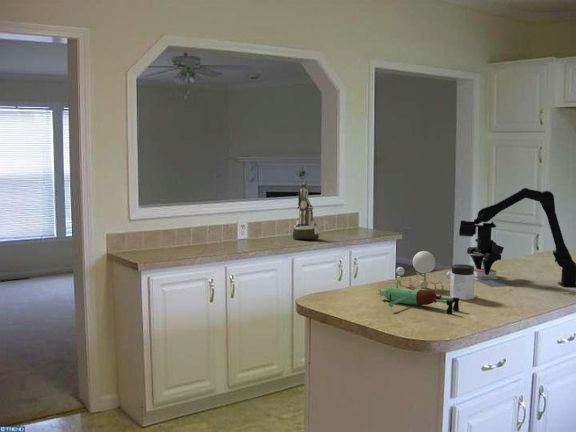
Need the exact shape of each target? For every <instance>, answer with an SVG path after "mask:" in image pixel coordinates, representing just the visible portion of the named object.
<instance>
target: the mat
mask: <svg viewBox="0 0 576 432" xmlns="http://www.w3.org/2000/svg"><path fill="white" fill-rule="evenodd" d="M474 281H476V282H478V283H481V284H483V285H486V286H488V287H491V288H499V287H518V286H519V284H516V283H514V282H510V281H508V280H506V279H502V278H500V277H497V276H478V277H477V276H475V280H474Z"/></svg>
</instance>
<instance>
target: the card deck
mask: <svg viewBox="0 0 576 432" xmlns="http://www.w3.org/2000/svg"><path fill="white" fill-rule="evenodd" d="M474 274H475V276H477V277H478V276H495V277H497V270H495V269H492V268H491V269H490V271H489V274H488V275H486V274H485V271H484V268H481V269H477V268H474Z"/></svg>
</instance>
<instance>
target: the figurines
mask: <svg viewBox="0 0 576 432" xmlns="http://www.w3.org/2000/svg"><path fill="white" fill-rule="evenodd" d="M412 265H413V266H412V267H413V268H414V269H415V273H416V274H417V275H418V276H421V277H424V279H423V280H420V282H419V288H424V289H428V285H429V283H428V281H427V279H426V278H427V277H426V274H428V273H431V272H432V271H433V270H434V268H435V266H436V259H435V256H434V255H433V254H432V253H431V252H429V251H426V250H422V251H421V250H420V251H418V252H417V253H416V254H415V255H414V256H413V258H412ZM395 271H396V272H395V273H396V274H397V276H396V275H395V276H394V279H395V281H396V284H395V288H398V289H399V286H401V285H402V283H401V279H402V277H401V276H402V275H404V273H405V269H404V267H402V266H398V267H397V268H396V270H395ZM451 272H452V270H449V271H447V272H446V275H445V276H446V278H447V279H448V280H451ZM423 274H424V275H423ZM413 279H414V277H409V278H408V280H409V281H408V283H409V284H408V285H409V287H411V290H414V287H413V286H414V284H415V283H414V282H413V283H412V280H413ZM430 284H433V285H434V292H437V291H438V290H437V289H438V288H437V285H439V284H440V285H441V294H443V293H444V285H443V284H444V279H441V278H440V279H439V280H438V281H437V282H435V281H434V282H432V281H431V282H430Z"/></svg>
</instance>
